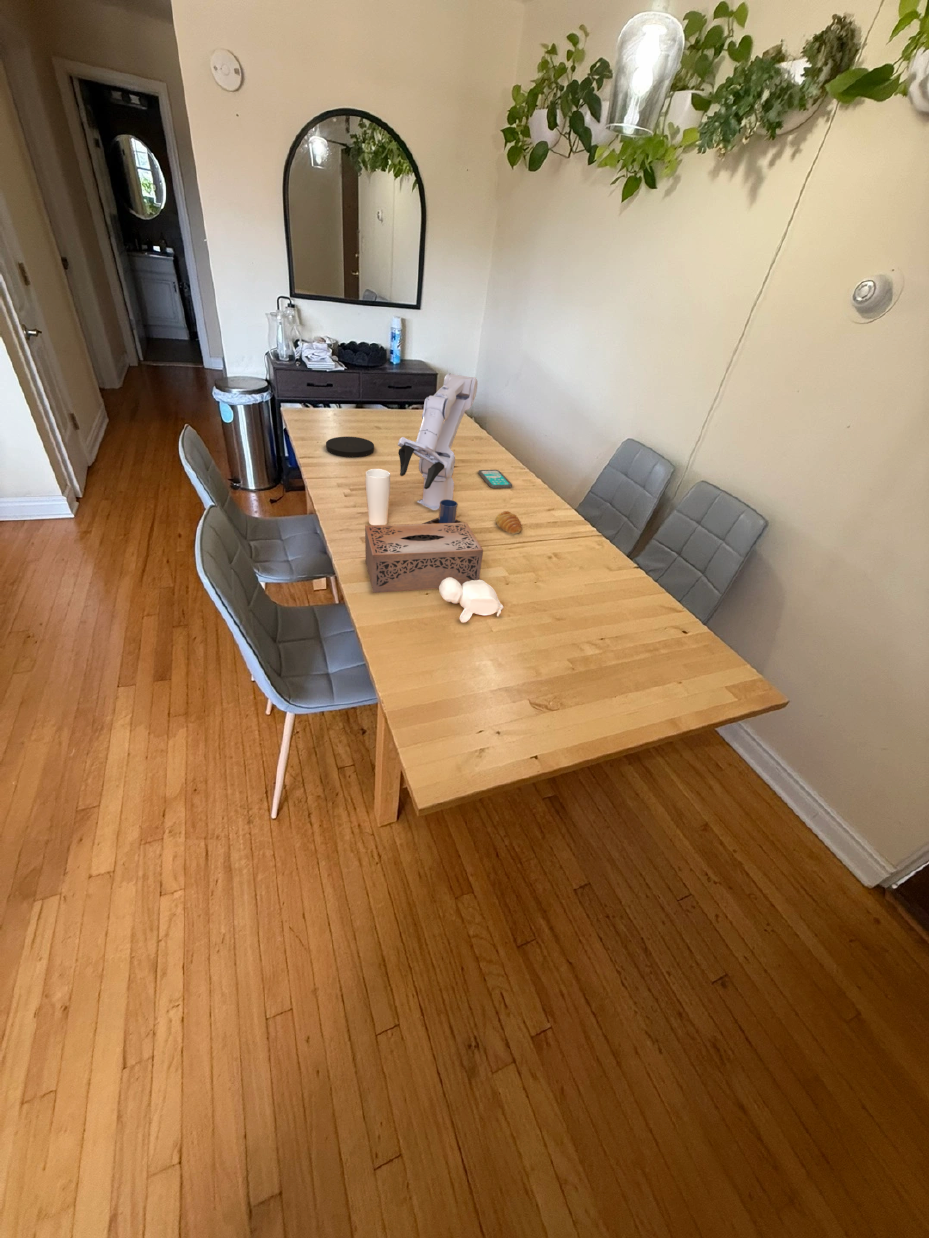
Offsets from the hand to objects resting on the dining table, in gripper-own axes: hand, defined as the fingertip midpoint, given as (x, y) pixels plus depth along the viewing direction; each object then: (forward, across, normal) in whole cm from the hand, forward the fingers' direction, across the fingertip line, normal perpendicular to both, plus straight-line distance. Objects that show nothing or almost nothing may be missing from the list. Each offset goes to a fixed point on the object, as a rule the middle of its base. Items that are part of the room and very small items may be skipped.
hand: (414, 481), depth 136 cm
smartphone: (-28, +39, +26) cm, 54 cm away
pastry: (-1, +33, 0) cm, 33 cm away
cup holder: (+9, +13, +5) cm, 16 cm away
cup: (+6, +16, +5) cm, 17 cm away
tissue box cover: (+25, +6, -8) cm, 27 cm away
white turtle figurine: (+34, +12, -23) cm, 43 cm away
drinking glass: (+10, -1, +16) cm, 18 cm away
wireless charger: (-30, -4, +64) cm, 71 cm away
